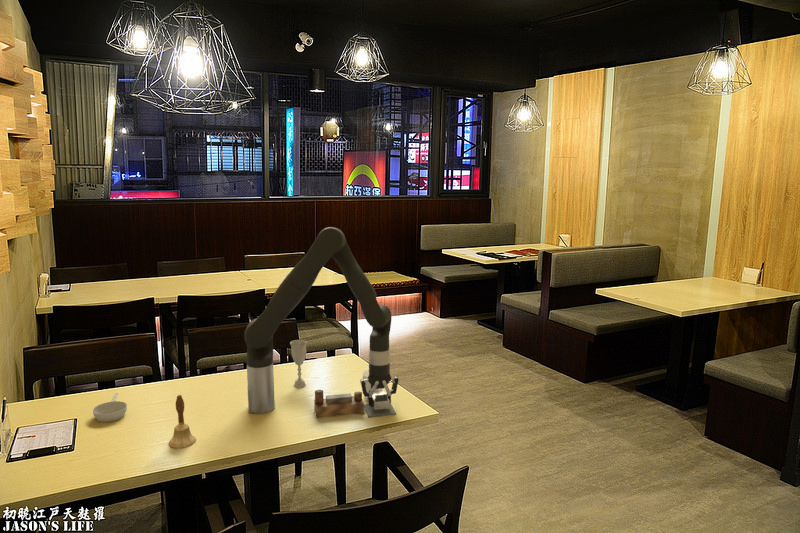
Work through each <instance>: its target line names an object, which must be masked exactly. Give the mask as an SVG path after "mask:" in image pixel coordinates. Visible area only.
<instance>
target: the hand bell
mask: <svg viewBox="0 0 800 533" xmlns="http://www.w3.org/2000/svg"><path fill="white" fill-rule="evenodd" d="M175 410H176V412H177V416H178V417H177V419H178V421H177V422H178V424H176V425H175V426H174V428H173V430H174V431H173V435H172V437H171V439H170V440H169V441H168V446H169V447H171V448H173V449H184V448H187V447H190V446H193V445H194V444H196V442H197V438H196V437H195V436H194V435H193V433H191V430H190V426H189V424H187V423H185V417H184V411H185V401H184V399H183V397H182V394H178V395H177V396H176V400H175Z"/></svg>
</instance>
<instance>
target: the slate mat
mask: <svg viewBox="0 0 800 533" xmlns="http://www.w3.org/2000/svg"><path fill="white" fill-rule="evenodd" d="M364 411H365V412H366V414H367V417H368V418H377V417H385V416H386V417H388V416H397V412H396V410H395V408H394V406H393V405H392V402H391V403H390V408H389V409H379V410H374V408H373V407H370V406H369V404H368V403H364Z"/></svg>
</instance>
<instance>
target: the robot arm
mask: <svg viewBox="0 0 800 533" xmlns="http://www.w3.org/2000/svg"><path fill="white" fill-rule="evenodd" d="M332 258H333V261H335V262H336V264H337V265H338V268H339V269H340V270H341V272H342V274H343V277H344V279H345V281H346V284H347V285H348V287H349V289H350V290H351V292H352V294H353V295H354V297H355V299H356V300H357V302H358V303H359V305H360V309H361V311H362V313H363V316H364V319H365V321H366V323H368V325H369V326H371V327H372V331H371V334H370V335H369V351H368V370H369V376H368V378H367V379H363V378H360V385H361V392H362V395H363V397H364V396H365V397H366V396H367V397H368V401H367V404H369V406H370V407H373V397H372V396H373V393H374V392H375V390H376V389H379V388H382V390H384V391H385V393H386V395H387V397H388V398H389V400H390V403H391V404H392V395H393V394H397V389H398V385H399V381H400V380H399V378H398V375H394V376H391V353H390V332H391V326H392V311H391V309H390V308H389V307H388V306H387V305H385V304H379V302H378V300H377V292H376V290H375V288H374V287H373V285H372V283H371V282H370V280H369V278H368V277H367V275H366V274H365V273H364V271H363V270H362V268H361V267H360V264H358V262H357V260H356V258H355V257H354V255H353V252H352V250H351V248H350V246H349V244H348V242H347V238H346V236H345V234H344V232H343V231H342V230H341V229H340V228H337V227H332V226H330V227H329V226H328V227H325V228H323V229H321V231H320V232H319V233H318V235H317V236H316V237H315V240H314V241H313V243H312V244H311V246H310V247H309V249H308V251H307V252H306V254H305V255H304V256H303V257H302V258H301V260H299V261H298V262H297V264H296V265H295V266H294V267H293V268H292V269H291V271H290V272H289V273H287V275H286V277H285V278H284V279H283V280H282V282H281V283H280V284H279V286H278V287H277V289H276V290H275V291H274V293H273V295H272V297H271V299H270V300H269V302H268V304H267V305H266V308H265V309H264V310H263V312H262V313H260V315H259V316H258V317H256V318H253V319H252V320H251V321H250V322H249V323H247V326H246V328H245V330H244V334H243V335H244V342H245V344H246V358H245V359H246V374H247V375H246V377H247V379H246V380H247V403H248V404H247V405H248V414H257V415H259V414H266V413H269V412H272V411H273V410H275V408H276V406H275V405H276V404H275V403H276V400H275V382H274V380H275V379H274V375H275V374H274V335H275V333H276V332H277V330H278V328H279V327H280V326H281V324H282V323H283V321H284V320H286V318H287V317H288V316H289V315H290V314H291V313H292V312H293V311H294V310H295V308H296V307H297V306H298V305H299V304H300V302H302V300H303V299H304V298H305V296H306V295H307V294H308V292H309V291H310V289H311V288H312V287H313V285H314V283H315V281H316V280H317V277H319V273H320V272H321V270H322V269H323V267H324V266H325V265H326V264H327V263H328V261H330V260H331V259H332ZM367 382H369V383H370V384H371V385H370V389H369V391H368V392H367V391H366V385H367ZM390 382H392V385H391V389H390V388H389V386H388V385H389V384H390Z"/></svg>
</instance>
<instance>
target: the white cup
mask: <svg viewBox="0 0 800 533" xmlns="http://www.w3.org/2000/svg"><path fill="white" fill-rule="evenodd" d="M361 375H362V379H367V378H368V376H369V369H367V370H364V371H363V372H362V374H361ZM370 385H371V384H370V383H369V382H367V385H366V391H367V392H368V391H369V389H370ZM376 391H383V389H382V388H379V389H376V390H375V392H376ZM363 398H364V400H365V401H367V402H368V397H367V396H366V397H365V396H364V395H363Z"/></svg>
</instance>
